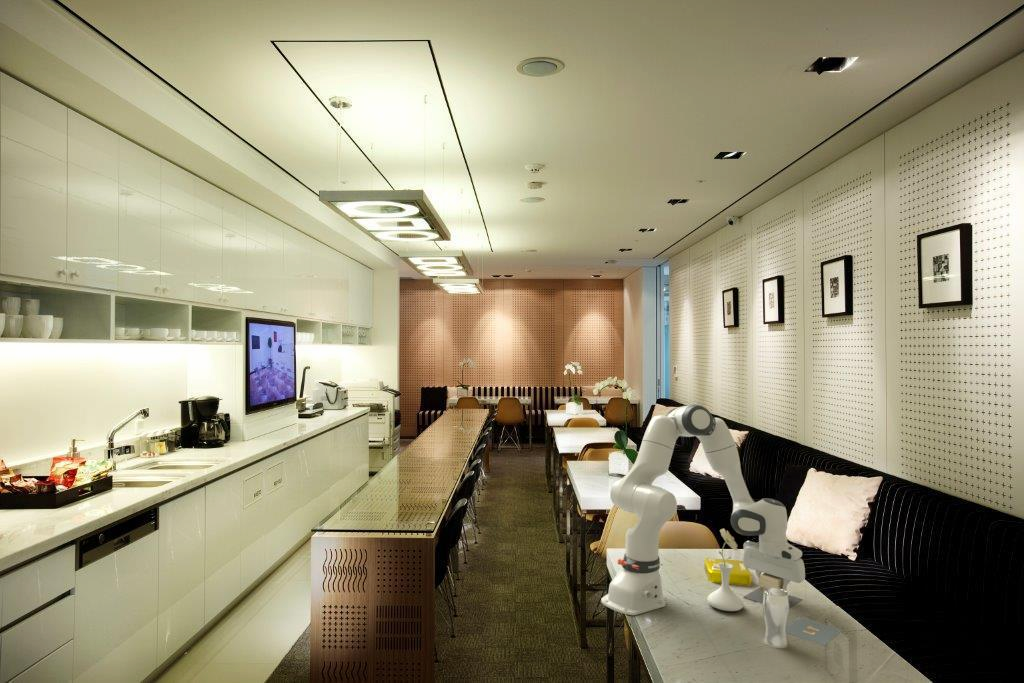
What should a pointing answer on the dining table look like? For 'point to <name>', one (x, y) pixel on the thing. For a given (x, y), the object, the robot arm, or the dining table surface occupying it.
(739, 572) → the element tile
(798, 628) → the grey flat slab
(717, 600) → the flower in vase
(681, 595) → the dining table surface
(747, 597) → the pad
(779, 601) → the beer glass
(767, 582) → the light wood cube
